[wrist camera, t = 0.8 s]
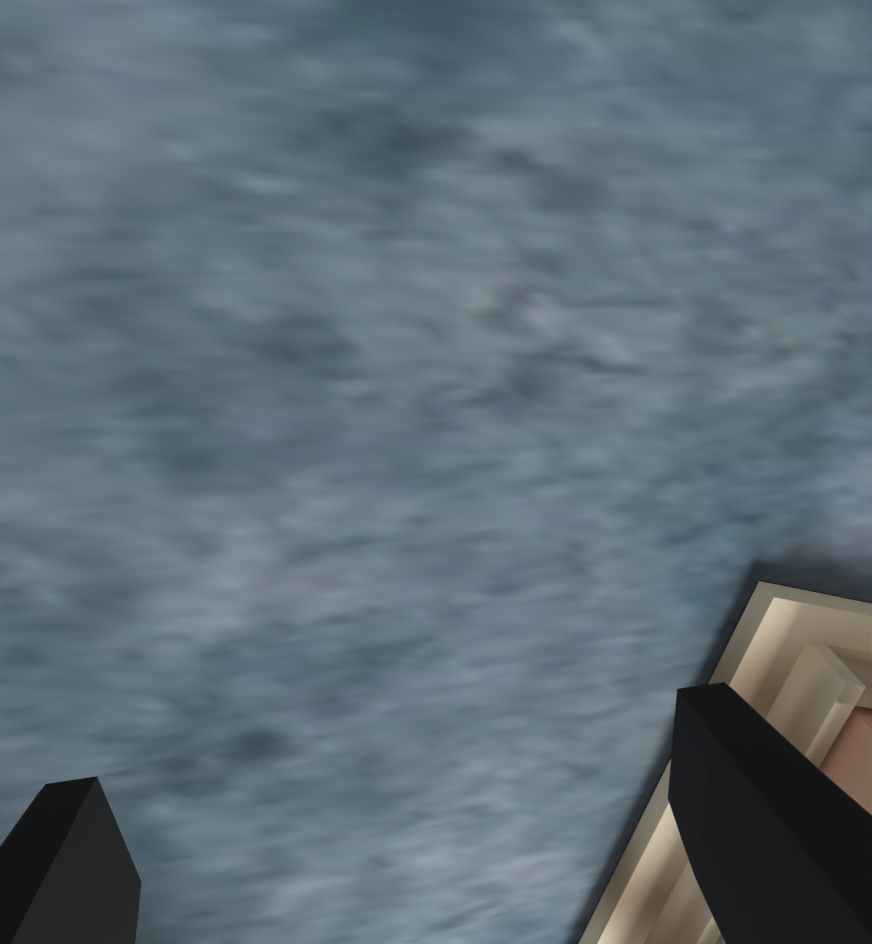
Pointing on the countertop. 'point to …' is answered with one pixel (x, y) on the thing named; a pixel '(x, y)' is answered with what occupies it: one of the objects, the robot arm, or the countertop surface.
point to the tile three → (853, 757)
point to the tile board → (781, 704)
